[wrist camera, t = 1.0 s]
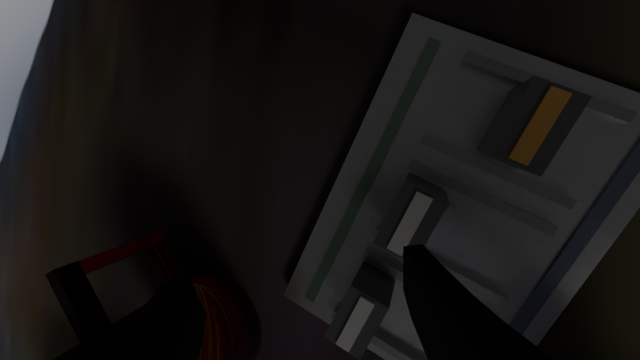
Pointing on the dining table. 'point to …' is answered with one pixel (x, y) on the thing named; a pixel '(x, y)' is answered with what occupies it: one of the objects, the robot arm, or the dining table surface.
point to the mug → (96, 329)
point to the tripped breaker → (533, 124)
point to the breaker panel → (475, 187)
